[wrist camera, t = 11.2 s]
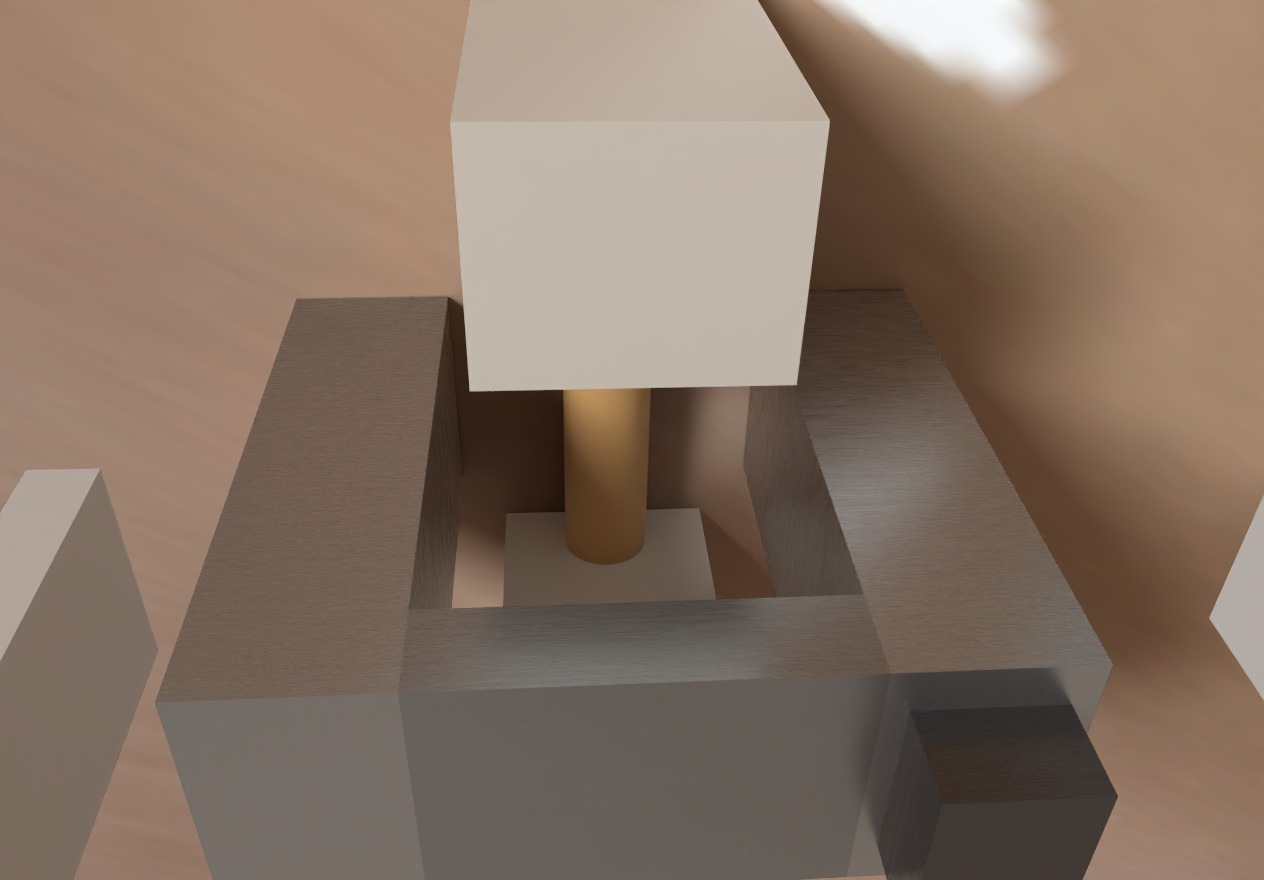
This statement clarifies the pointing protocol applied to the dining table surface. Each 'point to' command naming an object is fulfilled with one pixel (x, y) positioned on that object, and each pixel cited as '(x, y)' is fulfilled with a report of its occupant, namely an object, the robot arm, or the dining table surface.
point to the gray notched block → (634, 646)
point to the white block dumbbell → (628, 252)
